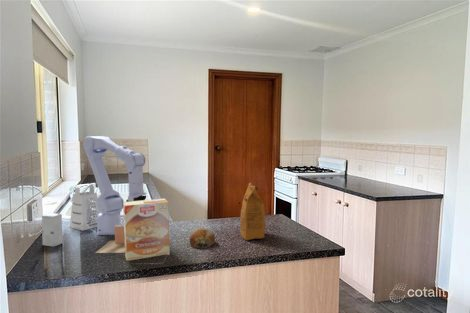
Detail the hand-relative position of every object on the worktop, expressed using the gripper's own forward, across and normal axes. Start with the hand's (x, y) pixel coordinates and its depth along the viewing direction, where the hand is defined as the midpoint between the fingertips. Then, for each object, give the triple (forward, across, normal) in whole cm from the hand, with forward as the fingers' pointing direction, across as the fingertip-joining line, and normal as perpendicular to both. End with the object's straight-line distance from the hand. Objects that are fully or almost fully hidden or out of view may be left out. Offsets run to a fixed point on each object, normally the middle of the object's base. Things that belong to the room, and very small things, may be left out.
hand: (137, 214), depth 136 cm
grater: (+10, +19, +31) cm, 38 cm away
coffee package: (+10, +1, -48) cm, 49 cm away
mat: (+10, -11, +3) cm, 15 cm away
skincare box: (+10, -7, +32) cm, 34 cm away
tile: (+10, -8, +3) cm, 12 cm away
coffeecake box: (+10, -19, -10) cm, 24 cm away
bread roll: (+10, -8, -28) cm, 31 cm away
